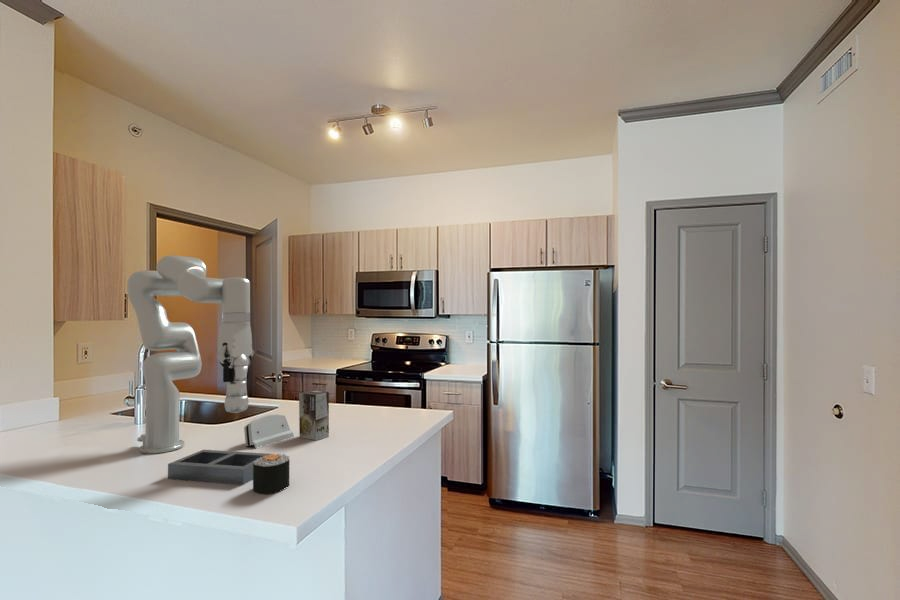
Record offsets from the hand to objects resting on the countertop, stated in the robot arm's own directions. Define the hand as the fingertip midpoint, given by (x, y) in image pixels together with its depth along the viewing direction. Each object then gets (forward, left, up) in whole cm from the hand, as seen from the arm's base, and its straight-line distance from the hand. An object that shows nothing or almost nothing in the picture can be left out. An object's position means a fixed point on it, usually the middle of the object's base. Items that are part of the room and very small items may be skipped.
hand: (236, 379), depth 133 cm
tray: (0, -6, -25) cm, 26 cm away
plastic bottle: (0, 0, -10) cm, 10 cm away
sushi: (+20, -13, -25) cm, 35 cm away
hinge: (-6, +25, -25) cm, 36 cm away
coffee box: (+7, +33, -25) cm, 42 cm away
